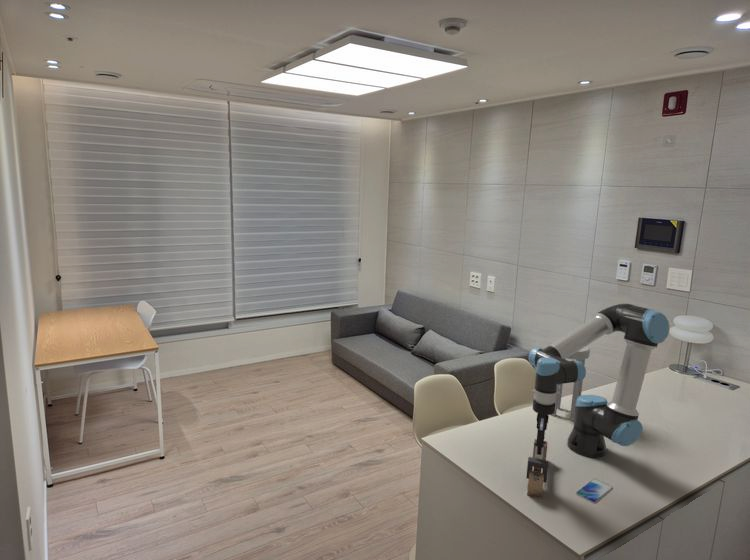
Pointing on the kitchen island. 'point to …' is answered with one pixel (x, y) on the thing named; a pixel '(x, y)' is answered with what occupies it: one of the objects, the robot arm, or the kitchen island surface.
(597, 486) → the smartphone
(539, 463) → the grey rectangular sleeve
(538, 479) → the sliding collar rod
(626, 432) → the robot arm
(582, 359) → the stool
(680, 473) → the kitchen island surface
